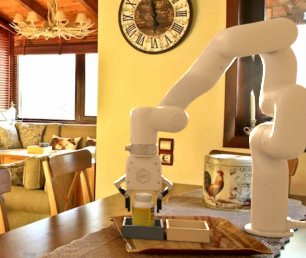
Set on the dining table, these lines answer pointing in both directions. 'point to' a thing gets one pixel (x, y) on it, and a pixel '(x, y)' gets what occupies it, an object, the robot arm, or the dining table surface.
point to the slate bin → (143, 230)
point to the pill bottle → (143, 210)
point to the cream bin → (187, 230)
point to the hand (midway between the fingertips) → (143, 211)
